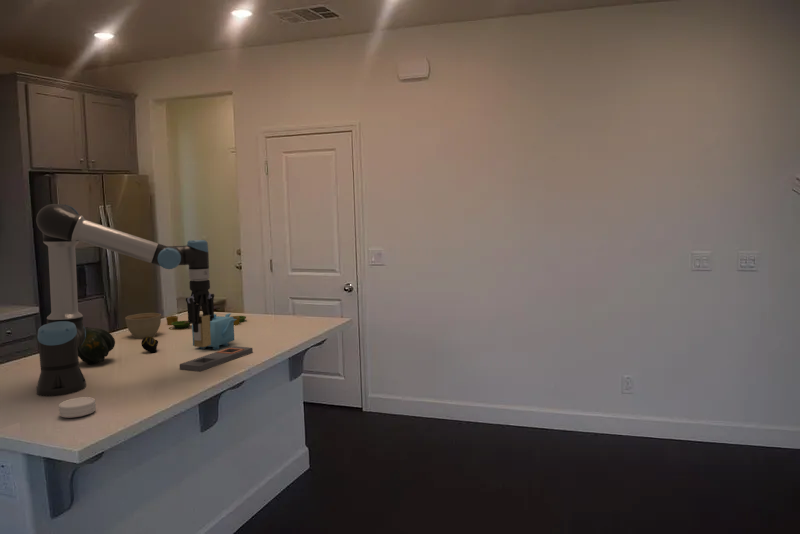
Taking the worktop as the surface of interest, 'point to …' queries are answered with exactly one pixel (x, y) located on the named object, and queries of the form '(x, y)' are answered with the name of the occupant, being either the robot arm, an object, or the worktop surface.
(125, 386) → the worktop surface
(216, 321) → the teakettle
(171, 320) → the tableware set
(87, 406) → the white round disc
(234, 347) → the dark grey flat board
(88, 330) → the squash
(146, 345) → the tape measure
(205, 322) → the wooden peg
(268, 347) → the worktop surface
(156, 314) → the planter bowl
